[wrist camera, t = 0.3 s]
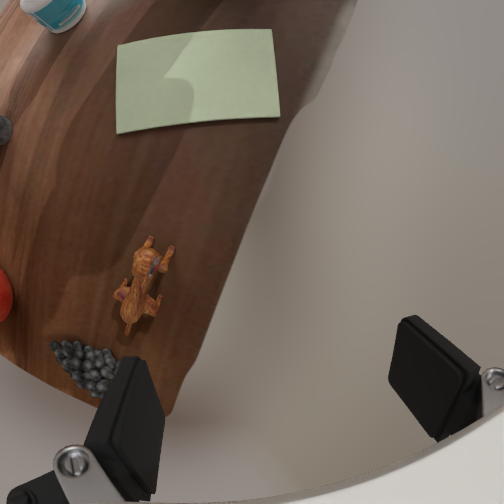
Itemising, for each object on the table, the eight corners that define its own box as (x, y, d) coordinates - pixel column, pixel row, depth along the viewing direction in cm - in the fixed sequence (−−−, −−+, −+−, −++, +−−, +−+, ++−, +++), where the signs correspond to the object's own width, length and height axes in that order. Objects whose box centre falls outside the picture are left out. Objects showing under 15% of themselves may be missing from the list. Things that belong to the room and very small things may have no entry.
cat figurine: (146, 340, 42) (126, 397, 29) (109, 322, 41) (77, 374, 28) (190, 237, 39) (177, 268, 26) (147, 217, 38) (113, 238, 25)
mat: (118, 47, 31) (117, 45, 30) (271, 30, 33) (271, 29, 32) (117, 134, 34) (116, 133, 34) (279, 117, 36) (280, 116, 36)
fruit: (32, 373, 32) (116, 417, 35) (41, 327, 33) (130, 373, 36) (52, 358, 40) (125, 395, 43) (62, 318, 42) (138, 355, 44)
